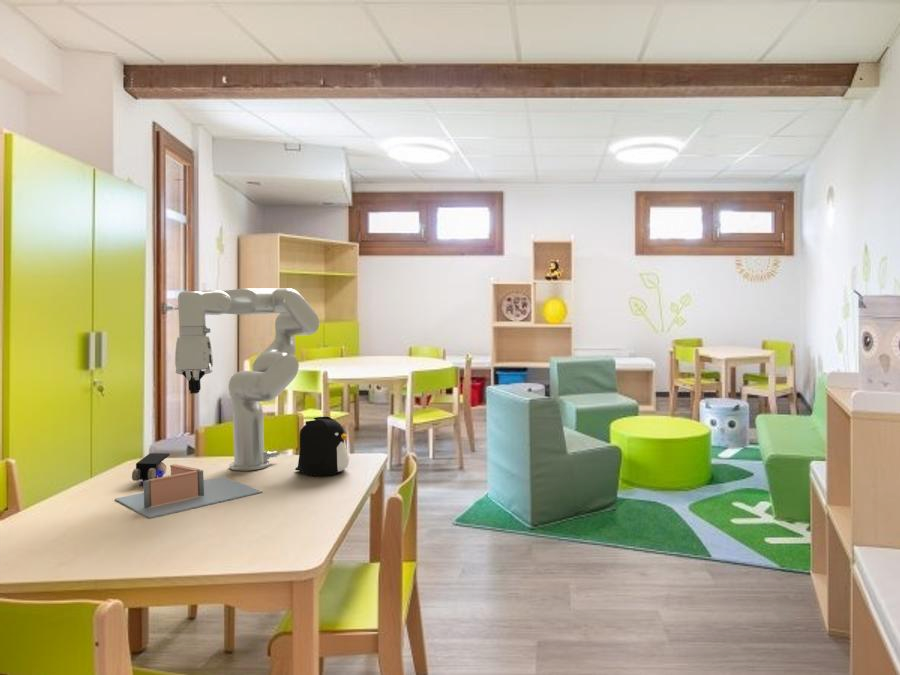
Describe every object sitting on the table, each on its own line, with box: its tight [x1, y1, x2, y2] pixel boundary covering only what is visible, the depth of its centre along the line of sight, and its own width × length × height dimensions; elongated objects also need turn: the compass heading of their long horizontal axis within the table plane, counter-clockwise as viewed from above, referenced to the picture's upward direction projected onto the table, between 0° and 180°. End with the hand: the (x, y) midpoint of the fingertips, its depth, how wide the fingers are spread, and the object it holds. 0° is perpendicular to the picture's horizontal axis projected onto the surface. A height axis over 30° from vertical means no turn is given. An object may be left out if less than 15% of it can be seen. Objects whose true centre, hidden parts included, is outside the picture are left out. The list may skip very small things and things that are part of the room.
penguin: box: [295, 416, 350, 477], centre depth 225 cm, size 18×18×17 cm
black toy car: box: [131, 452, 170, 487], centre depth 217 cm, size 7×8×15 cm
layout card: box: [114, 476, 263, 519], centre depth 200 cm, size 32×24×1 cm
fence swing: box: [169, 463, 201, 475], centre depth 203 cm, size 12×2×7 cm, turn 55°
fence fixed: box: [142, 469, 204, 508], centre depth 194 cm, size 16×2×8 cm, turn 134°
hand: (194, 392), depth 215 cm, fingers closed
